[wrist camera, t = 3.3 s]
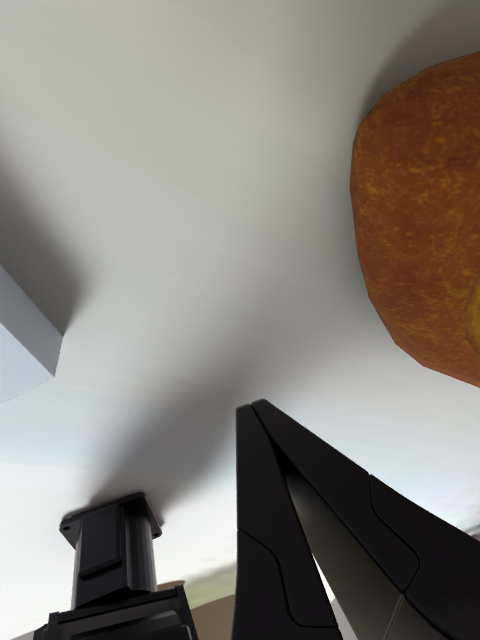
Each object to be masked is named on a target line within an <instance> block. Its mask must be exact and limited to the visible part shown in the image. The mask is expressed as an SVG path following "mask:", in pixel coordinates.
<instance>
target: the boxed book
mask: <svg viewBox="0 0 480 640" xmlns="http://www.w3.org/2000/svg"><path fill="white" fill-rule="evenodd" d="M62 339H63V336H62V335H61V333H60V332H59V331H58V330H57V329H56V328H55V327H54V325H53V324H52V323H51V322H50V321H49V320H48V318H47V317H46V316H45V315H44V314H43V313H42V312H41V310H40V309H39V308H38V307H37V306H36V305H35V304H34V302H33V301H32V300H31V299H30V298H29V297H28V296H27V294H26V293H25V292H24V291H23V290H22V289H21V287H20V286H19V285H18V284H17V283H16V282H15V281H14V279H13V278H12V277H11V276H10V275H9V274H8V273H7V271H6V270H5V269H4V268H3V267H2V266H1V265H0V404H1V403H3V402H5V401H7V400H9V399H11V398H13V397H15V396H17V395H20V394H22V393H24V392H26V391H28V390H30V389H32V388H34V387H36V386H38V385H40V384H42V383H44V382H46V381H48V380H50V379H52V378H54V377H55V372H56V367H57V363H58V358H59V353H60V349H61V344H62Z"/></svg>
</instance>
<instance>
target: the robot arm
mask: <svg viewBox="0 0 480 640" xmlns="http://www.w3.org/2000/svg"><path fill="white" fill-rule="evenodd" d="M236 485H237V530H238V531H237V576H236V589H235V602H234V614H233V622H232V632H231V640H343V638H342V634H341V632H340V630H339V629H338V623H337V621H336V618H335V615H334V612H333V610H332V607H331V604H330V601H329V599H328V596H327V593H326V591H325V588H324V585H323V582H322V580H321V577H320V574H319V571H318V569H317V566H316V563H315V560H314V558H313V555H314V557H315V559H316V561H317V563H318V565H319V567H320V569H321V571H322V572H323V574H324V576H325V578H326V580H327V582H328V584H329V586H330V588H331V590H332V591H333V593H334V595H335V597H336V599H337V601H338V603H339V605H340V607H341V608H342V610H343V612H344V614H345V616H346V618H347V620H348V621H349V624H350V625H351V627H352V629H353V631H354V633H355V635H356V637H357V638H358V640H480V541H479V540H477V539H475V538H473V537H472V536H470V535H468V534H466V533H465V532H463V531H461V530H460V529H458V528H456V527H454V526H453V525H451V524H449V523H447V522H446V521H444V520H442V519H441V518H439V517H437V516H435V515H434V514H432V513H430V512H429V511H427V510H425V509H424V508H422V507H420V506H419V505H417V504H415V503H414V502H412V501H410V500H409V499H407V498H405V497H404V496H402V495H401V494H399V493H398V492H396V491H395V490H393V489H392V488H390V487H389V486H388V485H386V484H385V483H383V482H382V481H380V480H379V479H377V478H376V477H375V476H373V475H372V474H370V475H369V473H368V472H367V471H366V470H365V469H363V468H362V467H360V466H359V465H357V464H356V463H355V462H353V461H352V460H350V459H349V458H348V457H346V456H345V455H343V454H342V453H340V452H339V451H338V450H336V449H335V448H333V447H332V446H331V445H329V444H328V443H326V442H325V441H323V440H322V439H321V438H319V437H318V436H316V435H315V434H314V433H312V432H311V431H309V430H308V429H306V428H305V427H304V426H302V425H301V424H299V423H298V422H297V421H295V420H294V419H292V418H291V417H289V416H288V415H287V414H285V413H284V412H282V411H281V410H279V409H278V408H277V407H275V406H274V405H272V404H271V403H270V402H268V401H267V400H265V399H260V400H257V401H254V402H252V403H251V404H245V405H242V406H239V407H237V408H236ZM59 530H60V532H61V533H62V534H63V536H64V537H65V538H66V539H67V541H68V542H69V543H70V544H71V545H72V547H73V548H74V549H75V562H74V575H73V587H72V599H71V610H70V611H66V612H61V613H59V611H58V612H53V613H49V620H48V624H44V626H42V627H41V628H39V629H37V630H36V631H34V637H33V640H198V636H197V633H196V629H195V626H194V622H193V619H192V615H191V612H190V608H189V605H188V601H187V598H186V594H185V591H184V587H183V584H181V585H176V586H175V587H173V588H170V589H165V590H160V591H157V581H156V571H155V561H154V551H153V541H152V540H153V539H155V538H158V537H159V536H161V535H162V529H161V526H160V524H159V522H158V520H157V518H156V516H155V514H154V511H153V509H152V507H151V505H150V503H149V501H148V499H147V497H146V495H145V493H143V492H139V493H136V494H133V495H131V496H128V497H125V498H123V499H120V500H117V501H114V502H112V503H109V504H106V505H104V506H101V507H98V508H95V509H93V510H90V511H87V512H85V513H82V514H79V515H77V516H74V517H71V518H68V519H66V520H63V521H62V522H61V523H60V527H59ZM312 554H313V555H312Z"/></svg>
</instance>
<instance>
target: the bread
mask: <svg viewBox="0 0 480 640" xmlns="http://www.w3.org/2000/svg"><path fill="white" fill-rule="evenodd" d="M350 193H351V201H352V209H353V218H354V226H355V235H356V243H357V252H358V257H359V260H360V264H361V268H362V272H363V276H364V280H365V283H366V287H367V291H368V295H369V298H370V300H371V302H372V304H373V306H374V307H375V309H376V311H377V313H378V315H379V316H380V318H381V320H382V322H383V323H384V325H385V327H386V329H387V330H388V332H389V334H390V335H391V337H392V339H393V340H394V342H395V344H397V345H398V346H399V347H400V348H401V349H403V350H404V351H405V352H406V353H408V354H409V355H410V356H411V357H412V358H414V359H415V360H416V361H417V362H419V363H420V364H421V365H422V366H424V367H427V368H429V369H432V370H435V371H437V372H440V373H443V374H445V375H448V376H450V377H453V378H456V379H458V380H461V381H464V382H466V383H469V384H471V385H474V386H477V387H479V388H480V51H479V52H476V53H473V54H469V55H466V56H463V57H460V58H457V59H453V60H450V61H447V62H444V63H441V64H437V65H434V66H431V67H428V68H426V69H425V70H423V71H421V72H420V73H418V74H417V75H415V76H413V77H412V78H410V79H408V80H407V81H405V82H404V83H402V84H400V85H399V86H397V87H395V88H394V89H392V90H390V91H389V92H387V93H386V94H384V95H383V96H382V97H381V99H380V100H379V101H378V103H377V104H376V105H375V106H374V108H373V109H372V110H371V112H370V113H369V114H368V116H367V117H366V118H365V119H364V121H363V122H362V123H361V125H360V126H359V128H358V130H357V133H356V136H355V139H354V142H353V150H352V163H351V177H350Z"/></svg>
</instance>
